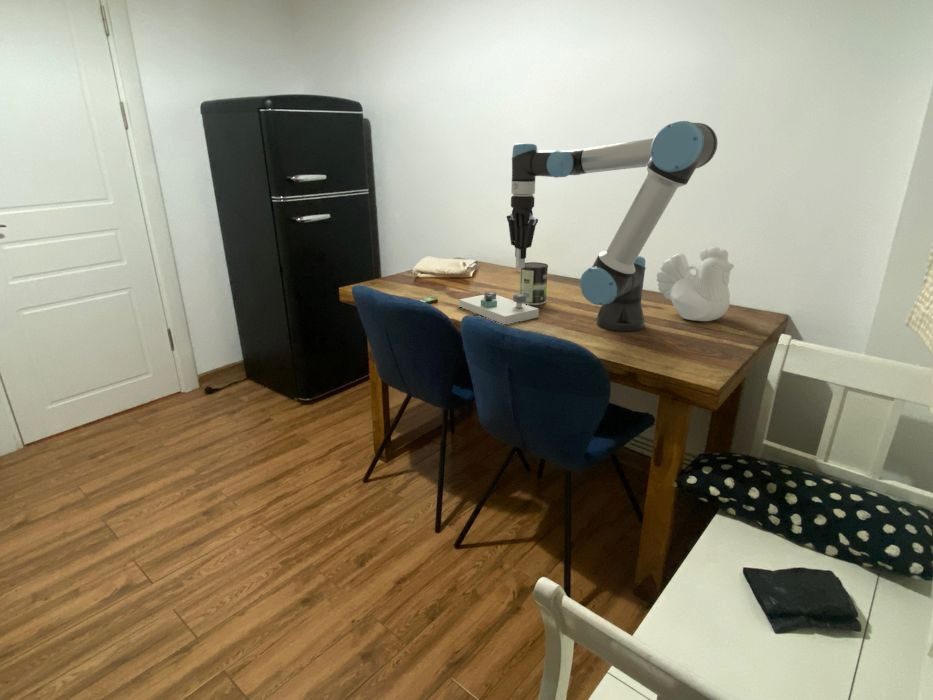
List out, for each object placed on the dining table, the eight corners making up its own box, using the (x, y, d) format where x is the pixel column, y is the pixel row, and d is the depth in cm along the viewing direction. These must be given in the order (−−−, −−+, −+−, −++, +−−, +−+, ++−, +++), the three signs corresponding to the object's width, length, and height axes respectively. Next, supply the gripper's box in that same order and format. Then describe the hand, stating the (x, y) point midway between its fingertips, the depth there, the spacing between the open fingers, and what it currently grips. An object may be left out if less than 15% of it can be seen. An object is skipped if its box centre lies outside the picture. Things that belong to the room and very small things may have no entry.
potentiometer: (496, 306, 189) (497, 296, 188) (487, 308, 187) (487, 297, 186) (489, 303, 192) (489, 293, 191) (480, 305, 190) (480, 295, 189)
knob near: (528, 309, 187) (528, 295, 185) (518, 311, 185) (518, 297, 183) (519, 306, 190) (520, 293, 189) (510, 308, 188) (510, 295, 186)
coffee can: (547, 298, 210) (548, 262, 205) (545, 306, 200) (547, 268, 195) (520, 297, 212) (521, 261, 207) (517, 304, 202) (518, 267, 197)
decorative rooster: (736, 321, 182) (750, 247, 173) (706, 329, 174) (718, 252, 166) (674, 304, 202) (684, 236, 193) (645, 310, 194) (653, 240, 186)
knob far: (498, 305, 200) (498, 293, 198) (489, 307, 198) (489, 295, 196) (491, 303, 203) (491, 291, 202) (481, 305, 201) (481, 292, 199)
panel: (538, 317, 187) (538, 308, 186) (504, 325, 179) (505, 316, 178) (491, 300, 207) (491, 293, 206) (459, 307, 199) (459, 299, 197)
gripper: (500, 194, 177) (499, 265, 185) (527, 197, 167) (524, 272, 176) (518, 192, 181) (515, 263, 190) (545, 195, 171) (541, 269, 180)
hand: (520, 267), depth 183 cm, fingers closed
